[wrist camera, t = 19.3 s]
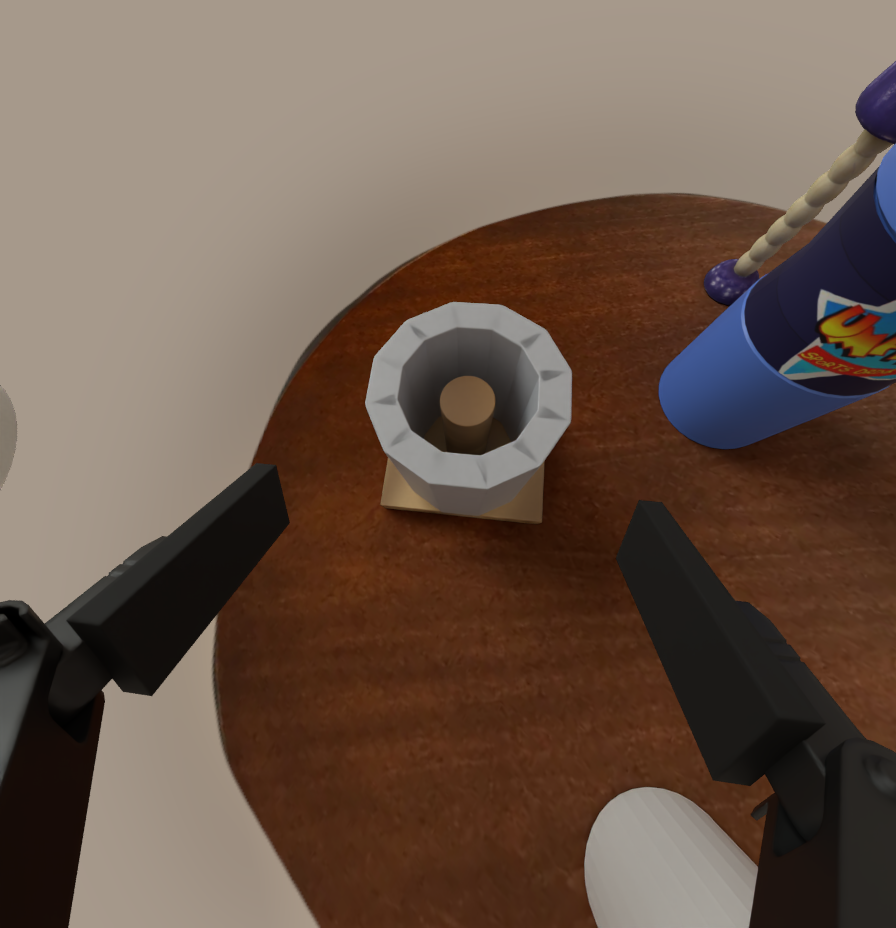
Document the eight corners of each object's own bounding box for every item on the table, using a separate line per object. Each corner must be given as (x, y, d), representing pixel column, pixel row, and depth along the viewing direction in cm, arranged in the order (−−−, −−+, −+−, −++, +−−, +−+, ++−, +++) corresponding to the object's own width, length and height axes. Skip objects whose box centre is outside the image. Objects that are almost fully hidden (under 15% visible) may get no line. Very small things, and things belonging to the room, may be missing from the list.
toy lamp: (765, 301, 30) (1102, 13, 14) (719, 318, 30) (1009, 46, 14) (734, 261, 32) (1012, -43, 16) (689, 277, 31) (925, -15, 15)
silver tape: (393, 507, 25) (350, 475, 16) (412, 386, 28) (385, 297, 18) (528, 521, 25) (570, 498, 15) (534, 396, 27) (573, 308, 18)
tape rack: (384, 507, 27) (340, 479, 17) (403, 393, 30) (373, 314, 20) (537, 524, 26) (581, 504, 16) (543, 405, 29) (582, 328, 19)
